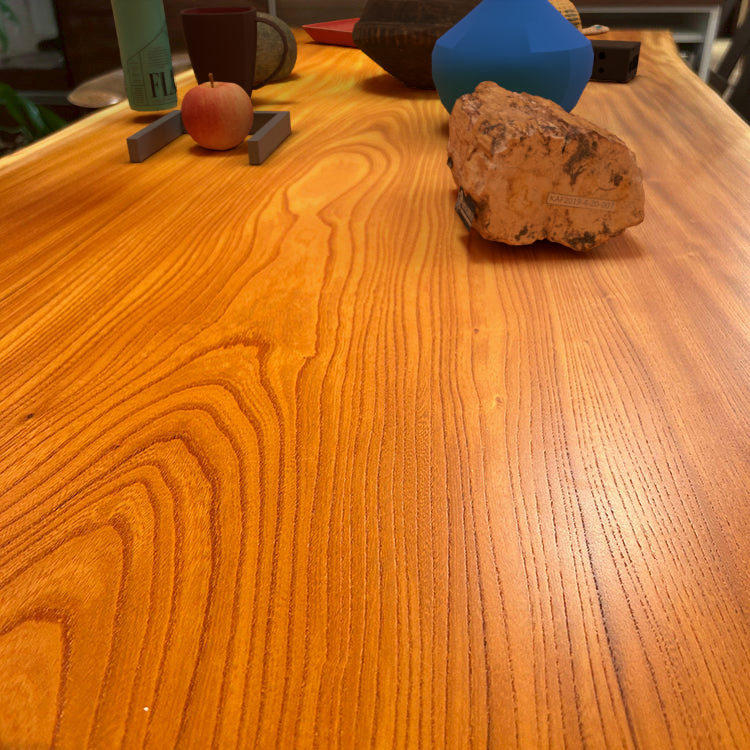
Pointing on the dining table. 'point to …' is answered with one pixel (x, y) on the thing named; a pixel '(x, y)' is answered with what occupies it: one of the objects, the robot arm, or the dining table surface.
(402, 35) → the ceramic pot
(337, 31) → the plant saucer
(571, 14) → the decorative figurine
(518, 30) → the vase
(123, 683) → the dining table surface
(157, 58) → the beverage bottle
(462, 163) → the petrified wood
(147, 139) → the bay
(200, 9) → the mug
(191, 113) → the apple
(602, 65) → the electronic device
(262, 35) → the grey green rounded stone
